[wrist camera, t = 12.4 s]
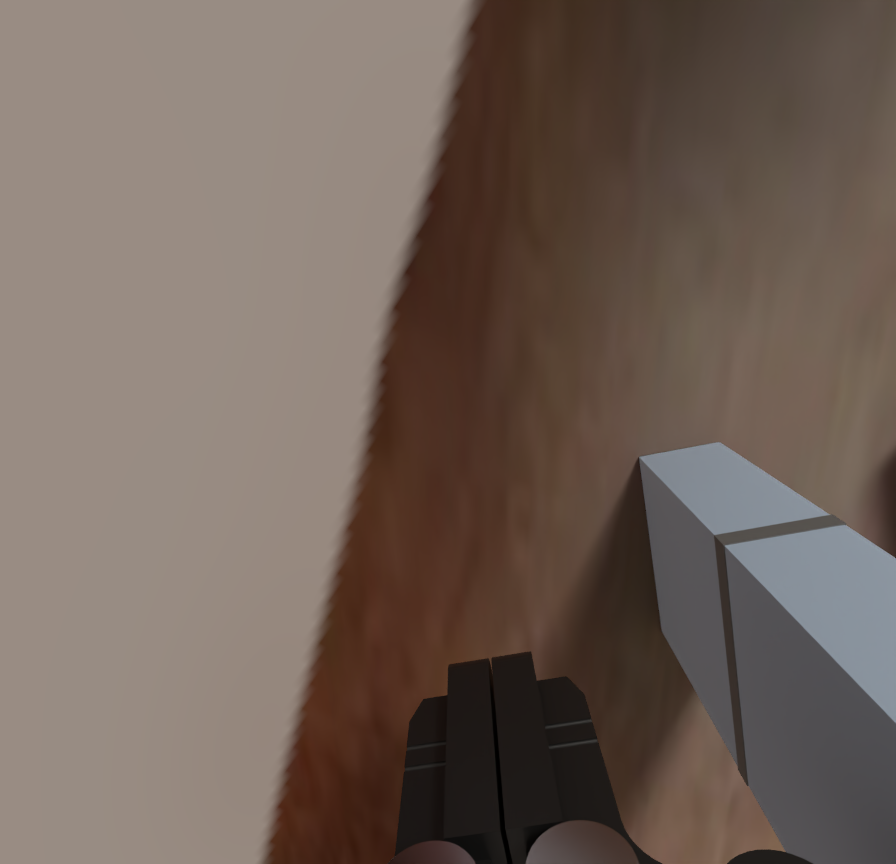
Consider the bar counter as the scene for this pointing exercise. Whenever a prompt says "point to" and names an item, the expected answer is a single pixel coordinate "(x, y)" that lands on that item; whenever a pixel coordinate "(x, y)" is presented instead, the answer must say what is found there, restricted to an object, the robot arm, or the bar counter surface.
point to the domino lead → (782, 646)
